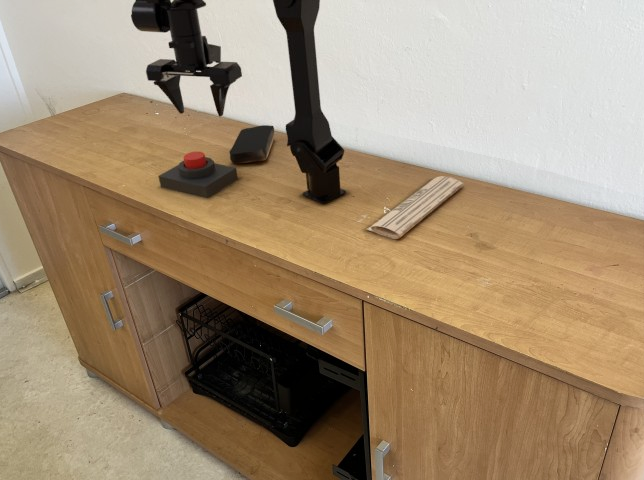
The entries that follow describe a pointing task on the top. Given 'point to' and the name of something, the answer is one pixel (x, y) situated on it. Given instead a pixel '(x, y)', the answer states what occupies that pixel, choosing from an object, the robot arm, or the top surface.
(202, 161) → the power button
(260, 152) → the black sponge
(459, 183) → the newspaper
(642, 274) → the top surface
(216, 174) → the grey button base
